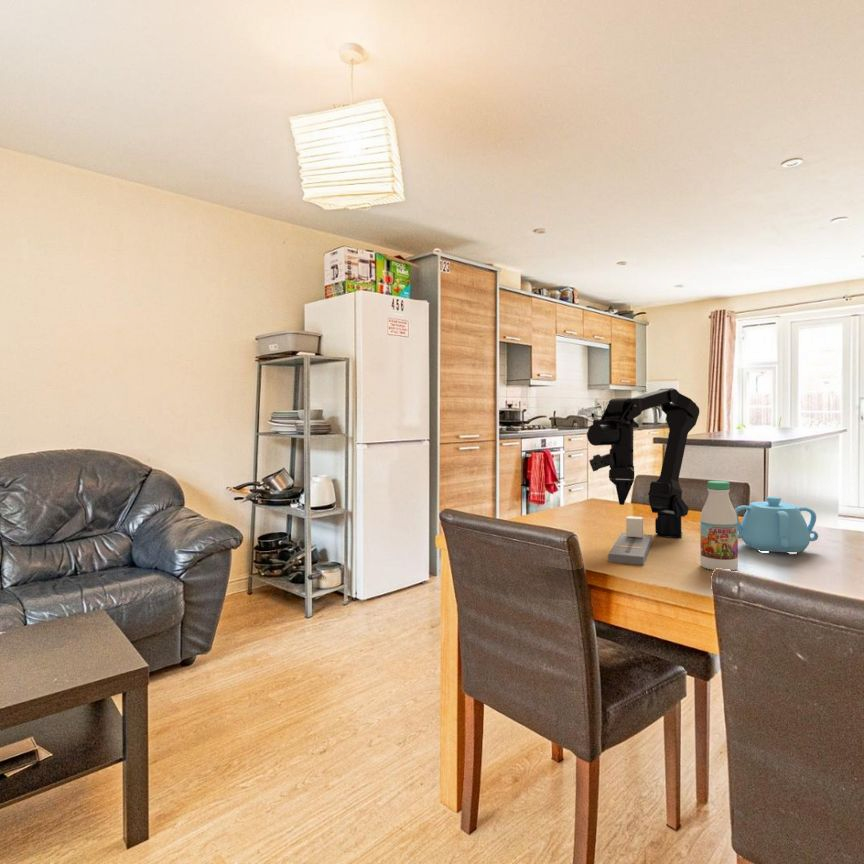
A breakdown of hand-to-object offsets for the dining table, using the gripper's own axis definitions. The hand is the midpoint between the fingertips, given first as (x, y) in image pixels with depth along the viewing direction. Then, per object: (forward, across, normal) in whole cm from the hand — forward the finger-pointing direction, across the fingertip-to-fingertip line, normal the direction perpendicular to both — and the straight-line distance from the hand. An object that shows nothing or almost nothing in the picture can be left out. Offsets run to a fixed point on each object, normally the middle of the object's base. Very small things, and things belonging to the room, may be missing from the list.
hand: (621, 502), depth 151 cm
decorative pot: (+11, -4, +37) cm, 39 cm away
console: (+12, +6, +3) cm, 13 cm away
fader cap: (+9, -2, +3) cm, 10 cm away
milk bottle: (+12, +16, +22) cm, 29 cm away
